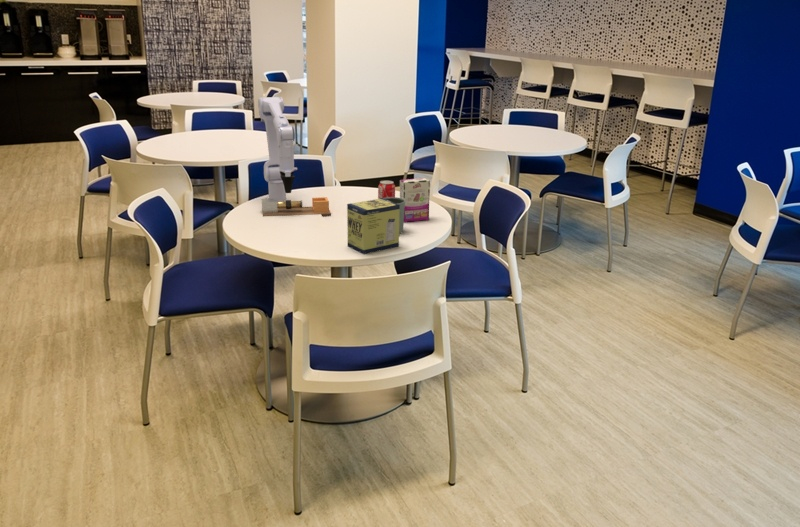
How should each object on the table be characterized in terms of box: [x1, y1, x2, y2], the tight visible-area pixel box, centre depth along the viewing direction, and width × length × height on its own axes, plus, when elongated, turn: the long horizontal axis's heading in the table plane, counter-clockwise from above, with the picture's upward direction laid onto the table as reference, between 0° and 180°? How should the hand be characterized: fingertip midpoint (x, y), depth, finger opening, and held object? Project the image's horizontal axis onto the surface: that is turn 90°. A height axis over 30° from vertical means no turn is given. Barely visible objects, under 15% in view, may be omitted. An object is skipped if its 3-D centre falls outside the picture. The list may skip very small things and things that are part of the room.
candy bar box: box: [399, 177, 431, 223], centre depth 269 cm, size 11×5×16 cm, turn 112°
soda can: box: [377, 180, 396, 199], centre depth 283 cm, size 7×7×12 cm
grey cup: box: [383, 196, 405, 234], centre depth 255 cm, size 10×10×12 cm
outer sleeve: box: [261, 198, 278, 215], centre depth 274 cm, size 5×6×5 cm
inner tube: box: [277, 199, 303, 209], centre depth 274 cm, size 4×16×4 cm, turn 102°
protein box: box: [346, 198, 400, 255], centre depth 237 cm, size 10×16×16 cm
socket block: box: [311, 196, 330, 213], centre depth 278 cm, size 7×6×4 cm
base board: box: [262, 206, 332, 217], centre depth 277 cm, size 12×27×1 cm, turn 103°
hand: (287, 190), depth 273 cm, fingers open, 7 cm apart
